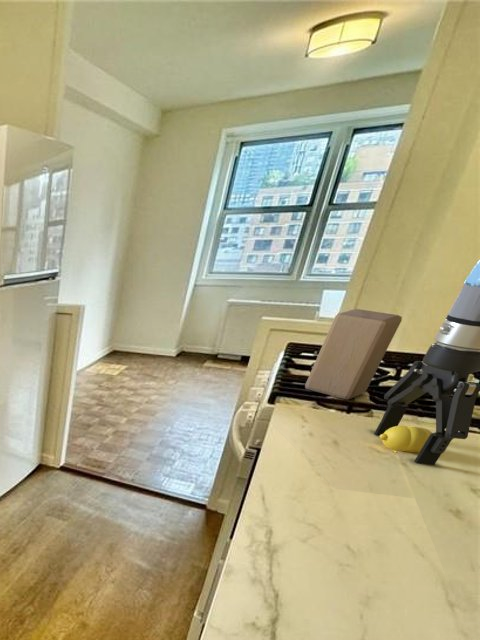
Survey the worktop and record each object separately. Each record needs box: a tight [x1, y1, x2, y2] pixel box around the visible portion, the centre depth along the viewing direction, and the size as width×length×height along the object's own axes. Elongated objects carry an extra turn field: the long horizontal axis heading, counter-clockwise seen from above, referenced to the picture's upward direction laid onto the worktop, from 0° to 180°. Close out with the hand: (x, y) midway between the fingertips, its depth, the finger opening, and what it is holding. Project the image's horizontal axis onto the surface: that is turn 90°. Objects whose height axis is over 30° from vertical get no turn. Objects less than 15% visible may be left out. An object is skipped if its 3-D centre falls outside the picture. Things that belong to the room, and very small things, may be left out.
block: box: [304, 308, 403, 401], centre depth 121 cm, size 10×10×20 cm
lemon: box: [378, 425, 433, 454], centre depth 97 cm, size 8×5×5 cm, turn 73°
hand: (401, 449), depth 98 cm, fingers open, 12 cm apart
